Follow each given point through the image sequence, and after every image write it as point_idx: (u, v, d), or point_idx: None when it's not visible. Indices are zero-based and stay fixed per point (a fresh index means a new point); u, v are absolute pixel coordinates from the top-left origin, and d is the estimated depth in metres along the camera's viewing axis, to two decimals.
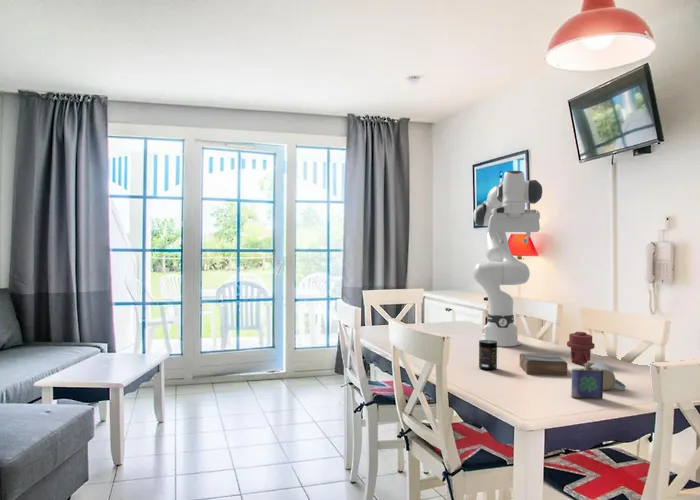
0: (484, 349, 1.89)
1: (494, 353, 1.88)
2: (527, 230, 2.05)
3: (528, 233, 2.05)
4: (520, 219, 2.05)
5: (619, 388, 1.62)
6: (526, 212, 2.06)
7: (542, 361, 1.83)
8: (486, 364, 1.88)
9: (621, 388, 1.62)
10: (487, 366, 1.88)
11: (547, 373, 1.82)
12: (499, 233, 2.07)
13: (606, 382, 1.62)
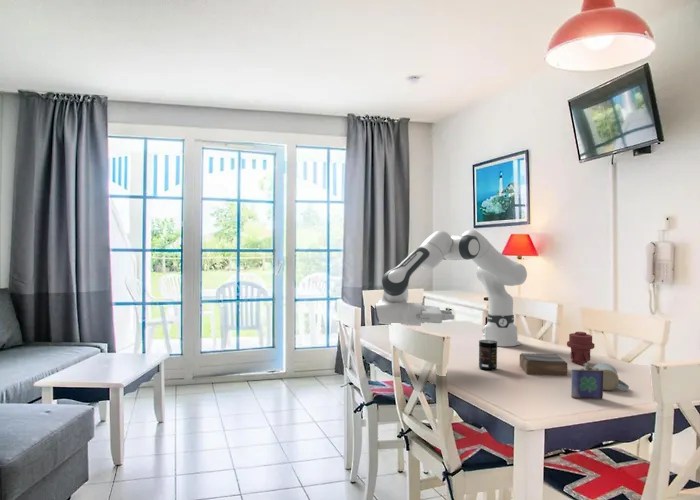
0: (484, 349, 1.89)
1: (494, 353, 1.88)
2: None
3: (443, 319, 1.87)
4: None
5: (622, 388, 1.62)
6: None
7: (542, 361, 1.83)
8: (486, 364, 1.88)
9: (624, 388, 1.62)
10: (487, 366, 1.88)
11: (547, 373, 1.82)
12: None
13: (610, 383, 1.62)
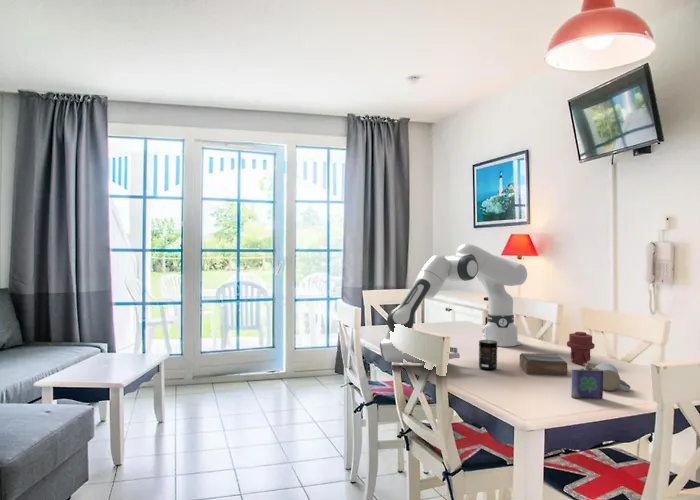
0: (484, 349, 1.89)
1: (494, 353, 1.88)
2: None
3: None
4: None
5: (624, 388, 1.62)
6: None
7: (542, 361, 1.83)
8: (486, 364, 1.88)
9: (626, 389, 1.62)
10: (487, 366, 1.88)
11: (547, 373, 1.82)
12: None
13: (611, 383, 1.62)
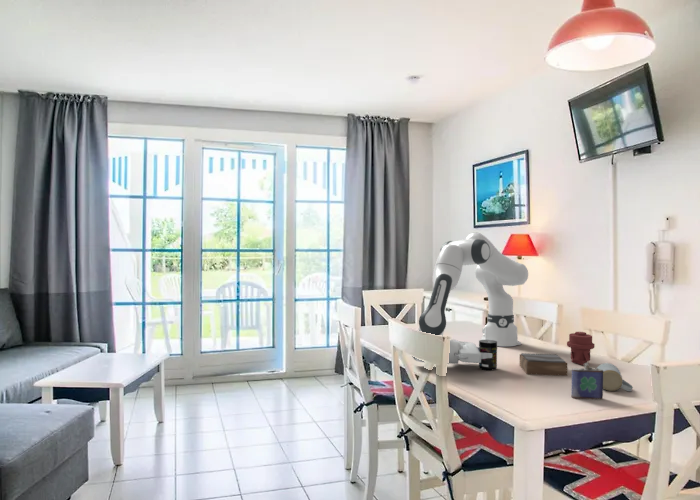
0: (484, 349, 1.89)
1: (494, 353, 1.88)
2: None
3: None
4: None
5: (626, 389, 1.61)
6: None
7: (542, 361, 1.83)
8: (486, 364, 1.88)
9: (628, 389, 1.61)
10: (487, 366, 1.88)
11: (547, 373, 1.82)
12: None
13: (613, 383, 1.62)
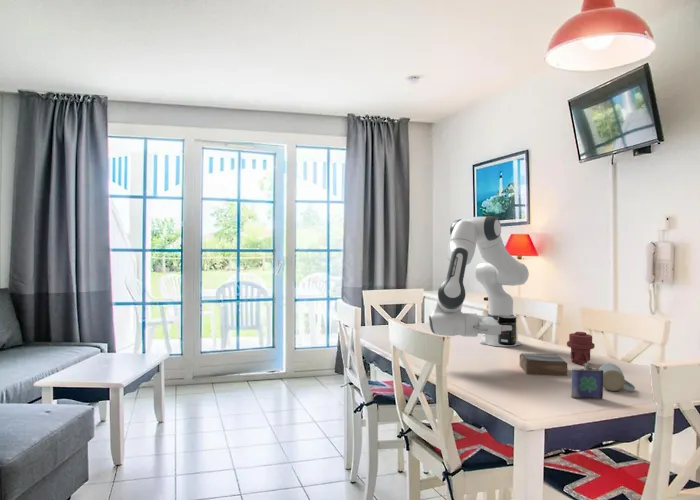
0: (503, 324, 1.88)
1: (513, 328, 1.88)
2: None
3: None
4: None
5: (628, 389, 1.61)
6: None
7: (542, 361, 1.83)
8: (505, 339, 1.88)
9: (630, 389, 1.61)
10: (507, 341, 1.87)
11: (547, 373, 1.82)
12: None
13: (616, 383, 1.61)
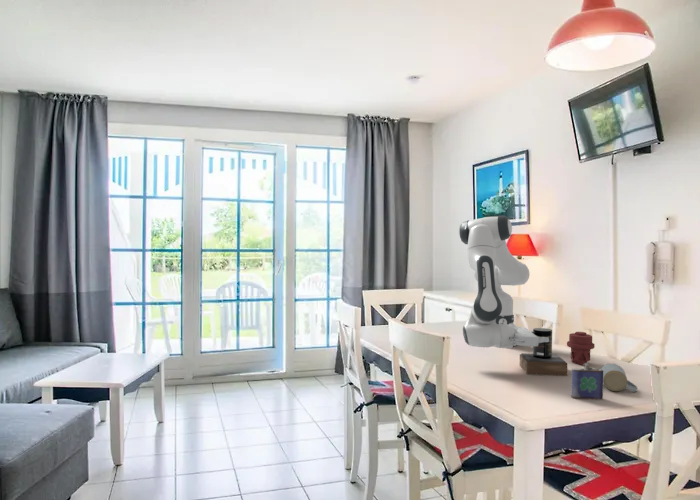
0: None
1: (549, 341, 1.86)
2: None
3: None
4: None
5: (631, 389, 1.61)
6: None
7: (542, 361, 1.83)
8: (541, 352, 1.86)
9: (633, 389, 1.61)
10: (543, 354, 1.85)
11: (547, 373, 1.82)
12: None
13: (618, 383, 1.61)
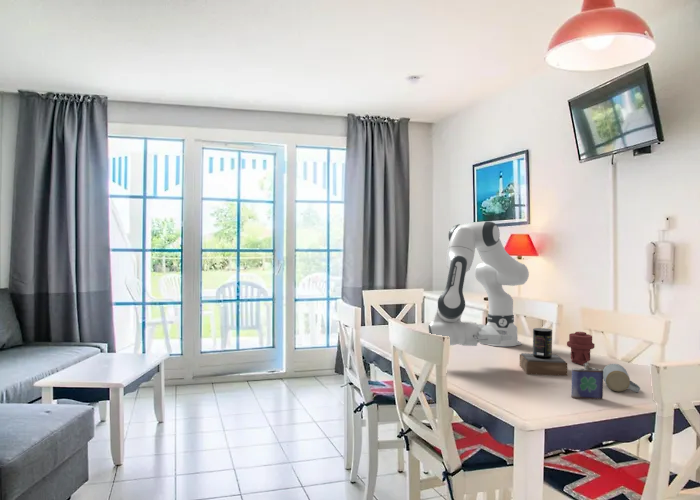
0: (539, 337, 1.86)
1: (549, 341, 1.86)
2: None
3: None
4: None
5: (633, 389, 1.61)
6: None
7: (542, 361, 1.83)
8: (541, 352, 1.86)
9: (636, 389, 1.61)
10: (543, 354, 1.85)
11: (547, 373, 1.82)
12: None
13: (621, 384, 1.61)
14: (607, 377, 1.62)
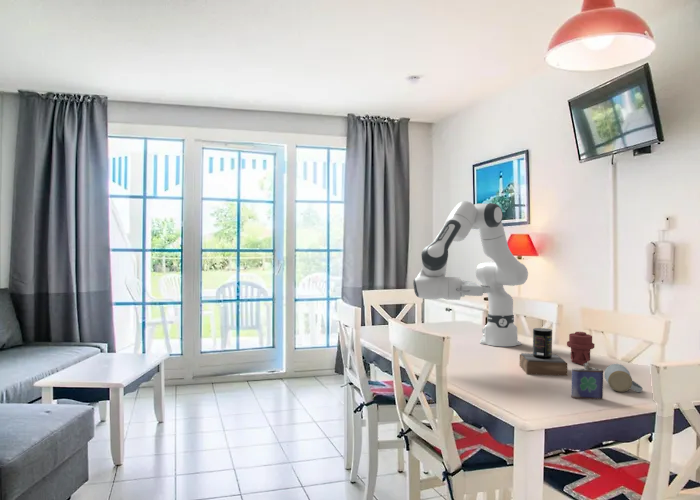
0: (539, 337, 1.86)
1: (549, 341, 1.86)
2: None
3: (483, 292, 1.89)
4: None
5: (636, 390, 1.60)
6: (459, 290, 1.91)
7: (542, 361, 1.83)
8: (541, 352, 1.86)
9: (638, 390, 1.60)
10: (543, 354, 1.85)
11: (547, 373, 1.82)
12: None
13: (623, 384, 1.61)
14: (609, 377, 1.62)
